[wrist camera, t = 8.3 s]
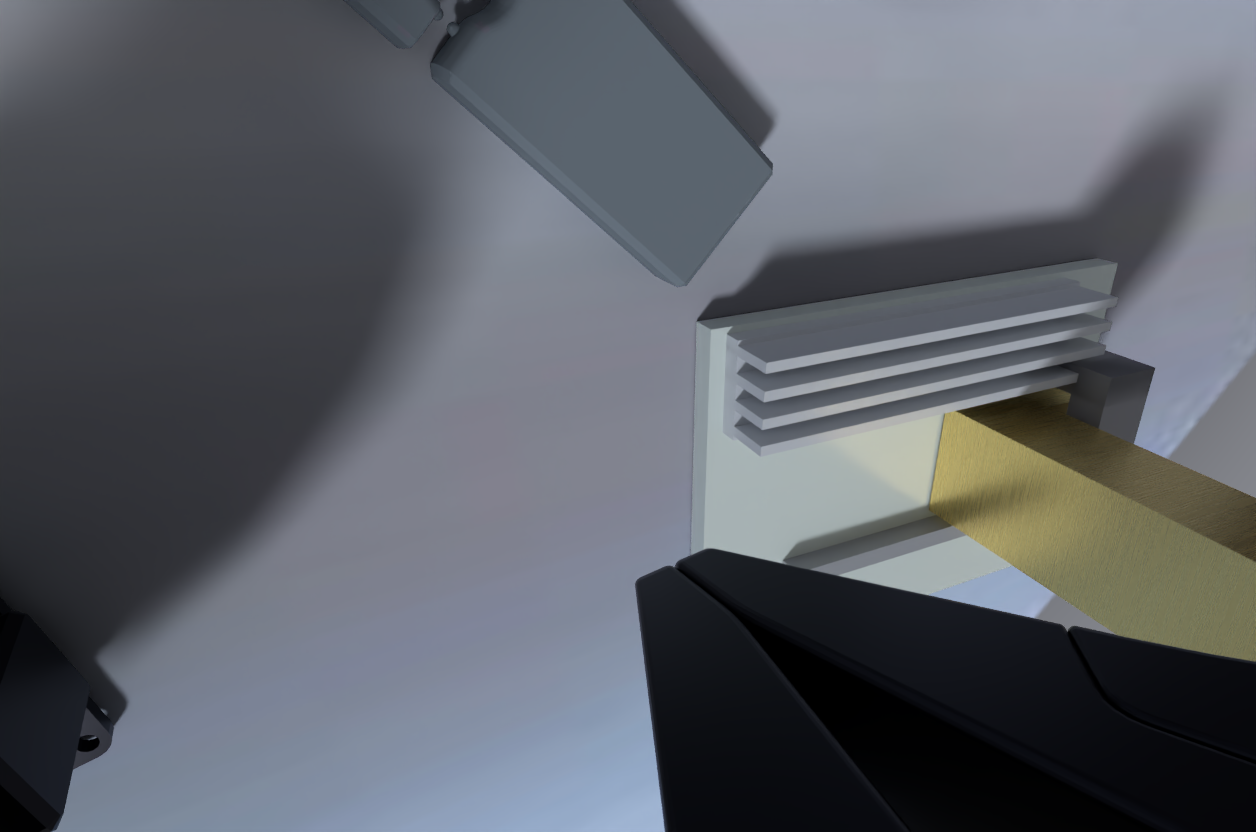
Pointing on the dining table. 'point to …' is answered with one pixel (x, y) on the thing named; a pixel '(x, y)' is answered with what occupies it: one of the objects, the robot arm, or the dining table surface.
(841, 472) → the socket board
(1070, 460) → the yellow rectangular block
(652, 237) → the dark grey flat block
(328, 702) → the dining table surface
